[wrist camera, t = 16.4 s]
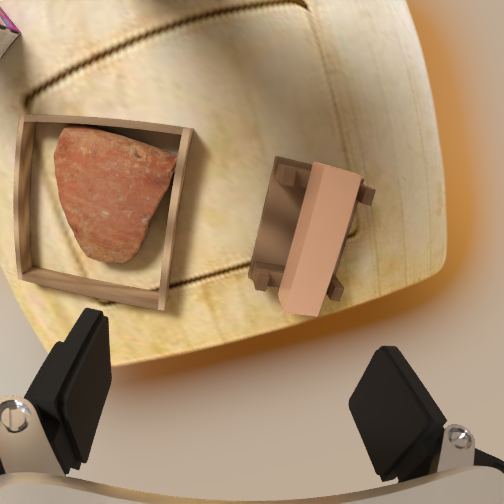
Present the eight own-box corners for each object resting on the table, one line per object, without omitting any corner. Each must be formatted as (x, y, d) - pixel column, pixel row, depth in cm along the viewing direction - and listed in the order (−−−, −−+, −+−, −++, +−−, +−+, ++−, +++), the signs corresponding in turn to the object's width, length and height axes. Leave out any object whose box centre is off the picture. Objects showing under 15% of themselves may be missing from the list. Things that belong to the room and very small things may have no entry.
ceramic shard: (27, 240, 31) (62, 116, 28) (54, 233, 37) (87, 125, 34) (129, 289, 32) (175, 152, 29) (146, 274, 38) (187, 158, 36)
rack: (275, 156, 35) (283, 160, 30) (360, 178, 37) (379, 185, 32) (248, 274, 40) (251, 294, 36) (327, 286, 42) (339, 305, 37)
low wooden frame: (32, 114, 29) (19, 114, 27) (193, 128, 33) (190, 128, 30) (28, 269, 37) (18, 279, 34) (167, 298, 40) (164, 310, 38)
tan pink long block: (313, 161, 32) (325, 165, 28) (347, 170, 33) (362, 175, 29) (277, 294, 38) (283, 312, 34) (308, 299, 38) (317, 316, 35)
